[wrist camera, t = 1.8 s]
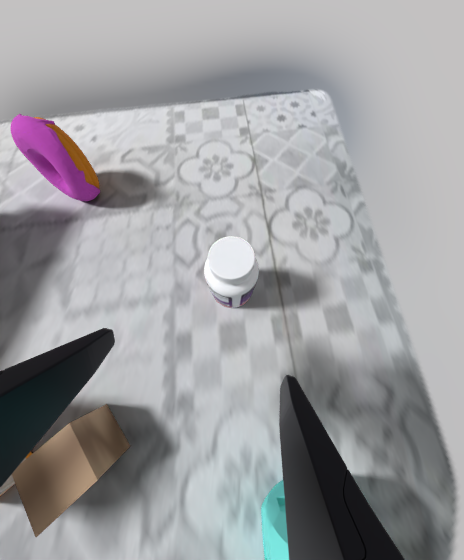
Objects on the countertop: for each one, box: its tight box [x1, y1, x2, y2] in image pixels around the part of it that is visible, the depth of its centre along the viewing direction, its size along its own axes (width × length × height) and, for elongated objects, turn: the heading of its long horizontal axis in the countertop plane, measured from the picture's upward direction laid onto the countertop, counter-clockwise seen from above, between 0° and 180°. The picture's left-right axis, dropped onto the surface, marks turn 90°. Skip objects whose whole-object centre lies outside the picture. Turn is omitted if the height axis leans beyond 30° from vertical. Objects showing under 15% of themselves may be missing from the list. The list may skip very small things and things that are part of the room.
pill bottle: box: [204, 236, 259, 308], centre depth 20 cm, size 5×5×10 cm
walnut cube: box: [12, 404, 130, 537], centre depth 17 cm, size 5×5×5 cm
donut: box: [11, 114, 100, 201], centre depth 25 cm, size 8×9×10 cm
